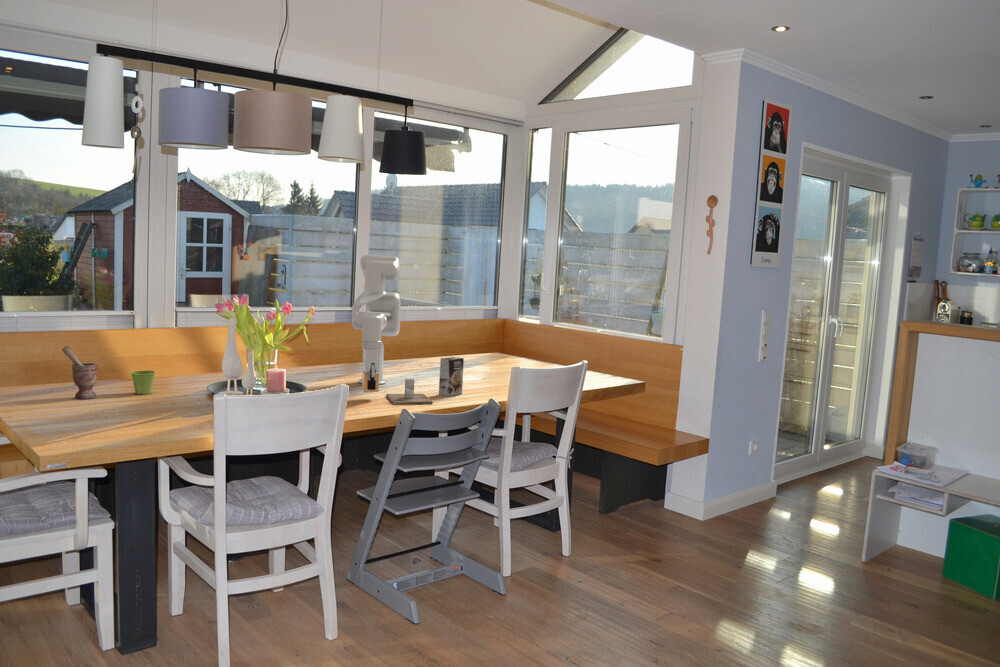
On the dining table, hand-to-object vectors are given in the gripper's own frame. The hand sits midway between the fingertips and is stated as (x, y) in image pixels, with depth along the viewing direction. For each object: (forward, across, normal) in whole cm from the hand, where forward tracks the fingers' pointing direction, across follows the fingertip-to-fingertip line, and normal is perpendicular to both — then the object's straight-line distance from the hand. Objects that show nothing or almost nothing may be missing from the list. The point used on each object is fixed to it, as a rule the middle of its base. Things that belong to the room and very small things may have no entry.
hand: (370, 387), depth 318 cm
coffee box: (+6, -9, +37) cm, 38 cm away
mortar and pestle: (+5, -10, -109) cm, 110 cm away
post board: (+5, +3, +16) cm, 17 cm away
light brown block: (+1, 0, 0) cm, 1 cm away
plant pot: (+5, -18, -88) cm, 90 cm away
